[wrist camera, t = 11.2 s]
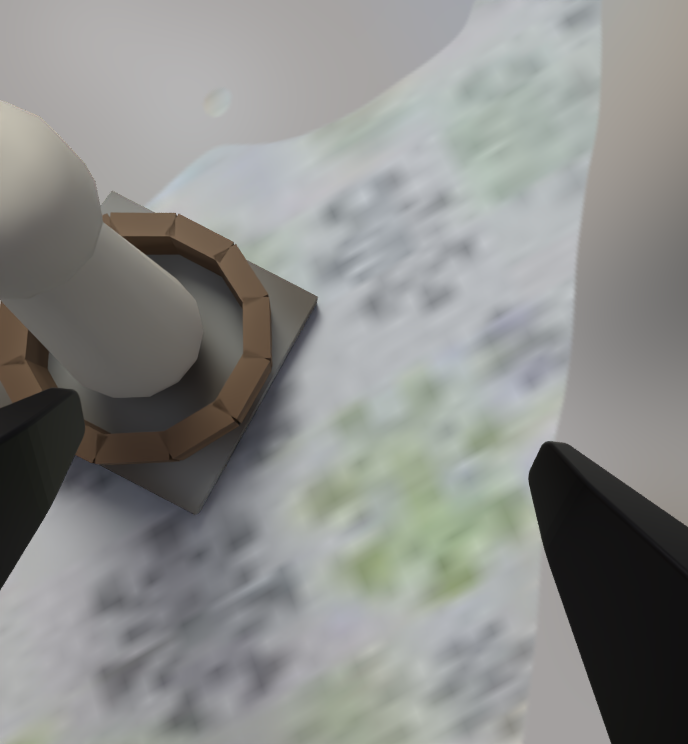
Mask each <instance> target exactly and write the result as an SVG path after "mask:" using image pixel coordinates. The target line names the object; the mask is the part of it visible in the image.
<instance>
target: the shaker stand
mask: <svg viewBox="0 0 688 744" xmlns="http://www.w3.org/2000/svg"><path fill="white" fill-rule="evenodd" d="M100 207H101V212H102V218H103V222H104V223H105V224H106V225H108V226H109V227H110V228H111V229H113V230H114V231H115V232H117V233H118V234H119V235H120V236H122V237H123V238H124V239H126V240H127V241H128V242H129V243H131V244H132V245H133V246H135V247H136V248H137V249H139V250H140V251H141V252H142V253H144V254H145V255H146V256H148V257H149V258H150V259H151V260H153V261H154V262H155V263H157V264H158V265H159V266H160V267H162V268H163V269H164V270H166V271H167V272H168V273H169V274H171V275H172V276H173V277H175V278H176V279H177V280H178V281H179V282H180V283H181V284H182V285H183V287H184V288H185V289H186V290H187V291H188V292H189V293H190V294H191V295H192V297H193V298H194V299H195V300H196V302H197V306H198V310H199V314H200V318H201V322H202V326H203V331H204V333H203V337H202V341H201V345H200V350H199V354H198V358H197V360H196V361H195V363H194V364H193V365H192V366H191V367H190V369H189V370H188V371H187V372H186V374H185V375H184V376H183V377H182V378H181V380H180V381H179V382H178V383H176V384H174V385H172V386H170V387H168V388H166V389H164V390H162V391H160V392H158V393H156V394H154V395H152V396H151V397H130V398H112V397H110V396H107V395H104V394H102V393H99V392H97V391H94V390H91V389H89V388H86V387H84V386H82V385H81V384H80V383H79V382H78V381H77V380H76V379H75V378H74V377H73V376H72V375H71V374H70V373H69V371H68V370H67V369H66V368H65V367H64V366H63V365H62V364H61V363H60V362H59V361H58V360H57V359H56V358H55V357H54V356H53V355H52V354H51V353H50V352H49V351H48V350H47V348H46V347H45V346H44V345H43V344H42V343H41V342H40V341H39V340H38V339H37V338H36V337H35V336H34V335H33V334H32V333H31V332H30V331H29V330H28V329H27V328H26V327H25V326H24V324H23V323H22V322H21V321H20V320H19V319H18V318H17V317H16V316H15V315H14V314H13V313H12V312H11V311H10V310H9V309H8V308H7V307H6V306H5V305H4V304H3V303H2V301H1V304H0V408H2V407H4V406H7V405H9V404H12V403H14V402H17V401H19V400H22V399H24V398H26V397H29V396H31V395H34V394H36V393H39V392H41V391H44V390H46V389H49V388H53V387H56V388H65V389H73V390H75V391H77V393H78V394H79V397H80V401H81V406H82V412H83V417H84V422H85V433H84V436H83V439H82V441H81V443H80V445H79V448H78V450H77V452H76V454H75V455H77V456H79V457H80V458H82V459H84V460H86V461H88V462H90V463H95V464H99V465H101V466H103V467H104V468H106V469H108V470H110V471H112V472H114V473H116V474H118V475H120V476H122V477H124V478H126V479H127V480H129V481H131V482H133V483H135V484H137V485H139V486H141V487H143V488H145V489H147V490H149V491H151V492H152V493H154V494H156V495H158V496H160V497H162V498H164V499H166V500H168V501H170V502H172V503H174V504H175V505H177V506H179V507H181V508H183V509H185V510H187V511H189V512H191V513H193V514H195V515H196V514H198V513H199V512H200V510H201V508H202V507H203V505H204V503H205V501H206V499H207V498H208V496H209V494H210V492H211V491H212V489H213V487H214V485H215V483H216V482H217V480H218V478H219V476H220V474H221V473H222V471H223V469H224V467H225V466H226V464H227V462H228V460H229V458H230V457H231V455H232V453H233V451H234V450H235V448H236V446H237V444H238V442H239V441H240V439H241V437H242V435H243V434H244V432H245V430H246V428H247V426H248V425H249V423H250V421H251V419H252V417H253V416H254V414H255V412H256V410H257V409H258V407H259V405H260V403H261V401H262V400H263V398H264V396H265V394H266V393H267V391H268V389H269V387H270V385H271V384H272V382H273V380H274V378H275V376H276V375H277V373H278V371H279V369H280V368H281V366H282V364H283V362H284V360H285V359H286V357H287V355H288V353H289V352H290V350H291V348H292V346H293V344H294V343H295V341H296V339H297V337H298V336H299V334H300V332H301V330H302V328H303V327H304V325H305V323H306V321H307V319H308V318H309V316H310V314H311V312H312V311H313V309H314V307H315V305H316V303H317V299H318V297H317V296H315V295H313V294H311V293H310V292H308V291H306V290H304V289H302V288H300V287H298V286H296V285H294V284H292V283H290V282H288V281H286V280H284V279H282V278H280V277H279V276H277V275H275V274H273V273H271V272H269V271H267V270H265V269H263V268H261V267H259V266H257V265H255V264H253V263H251V262H249V261H247V260H246V259H245V257H244V256H243V254H242V253H241V251H240V250H239V248H238V247H237V245H236V244H235V245H234V242H232V241H231V240H229V239H227V238H225V237H223V236H221V235H219V234H217V233H215V232H213V231H211V230H209V229H207V228H205V227H203V226H201V225H200V224H198V223H196V222H194V221H192V220H190V219H188V218H186V217H184V216H182V215H180V214H178V216H177V215H176V213H154V212H153V211H151V210H149V209H147V208H145V207H143V206H141V205H139V204H137V203H135V202H133V201H131V200H129V199H127V198H125V197H123V196H122V195H120V194H118V193H115V192H113V191H111V193H110V194H109V195H108V197H107V198H106V199H105V201H104V202H103V203H102V205H101V206H100Z"/></svg>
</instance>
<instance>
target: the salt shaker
mask: <svg viewBox="0 0 688 744" xmlns="http://www.w3.org/2000/svg"><path fill="white" fill-rule="evenodd" d="M0 300H1V301H2V303H3V304H4V305H5V306H6V307H7V308H8V309H9V310H10V311H11V312H12V313H13V314H14V315H15V316H16V317H17V318H18V319H19V320H20V321H21V322H22V323H23V324H24V326H25V327H26V328H27V329H28V330H29V331H30V332H31V333H32V334H33V335H34V336H35V337H36V338H37V339H38V340H39V341H40V342H41V343H42V344H43V345H44V346H45V347H46V348H47V350H48V351H49V352H50V353H51V354H52V355H53V356H54V357H55V358H56V359H57V360H58V361H59V362H60V363H61V364H62V365H63V366H64V367H65V368H66V369H67V370H68V371H69V373H70V374H71V375H72V376H73V377H74V378H75V379H76V380H77V381H78V382H79V383H80V384H81V385H82V386H84V387H86V388H89V389H91V390H94V391H97V392H99V393H102V394H104V395H107V396H110V397H112V398H130V397H151V396H152V395H154V394H156V393H158V392H160V391H162V390H164V389H166V388H168V387H170V386H172V385H174V384H176V383H178V382H179V381H180V380H181V378H182V377H183V376H184V375H185V374H186V372H187V371H188V370H189V369H190V367H191V366H192V365H193V364H194V363H195V361H196V360H197V358H198V354H199V350H200V345H201V341H202V337H203V333H204V331H203V326H202V322H201V318H200V314H199V310H198V306H197V302H196V300H195V299H194V298H193V297H192V295H191V294H190V293H189V292H188V291H187V290H186V289H185V288H184V287H183V285H182V284H181V283H180V282H179V281H178V280H177V279H176V278H175V277H173V276H172V275H171V274H169V273H168V272H167V271H166V270H164V269H163V268H162V267H160V266H159V265H158V264H157V263H155V262H154V261H153V260H151V259H150V258H149V257H148V256H146V255H145V254H144V253H142V252H141V251H140V250H139V249H137V248H136V247H135V246H133V245H132V244H131V243H129V242H128V241H127V240H126V239H124V238H123V237H122V236H120V235H119V234H118V233H117V232H115V231H114V230H113V229H111V228H110V227H109V226H108V225H106V224H105V223H104V222H103V218H102V212H101V207H100V202H99V197H98V193H97V187H96V183H95V180H94V178H93V177H92V175H91V173H90V171H89V170H88V168H87V166H86V165H85V163H84V162H83V161H82V160H81V159H80V158H79V157H78V155H77V154H76V153H75V152H74V151H73V150H72V149H71V148H70V147H69V146H68V145H67V144H66V142H64V140H63V139H62V138H61V137H60V136H59V135H58V134H57V133H56V132H55V131H54V130H53V129H52V128H51V127H50V126H49V125H48V124H47V123H46V122H45V121H44V120H43V119H42V118H41V117H39V116H37V115H34V114H32V113H30V112H28V111H25V110H23V109H21V108H18V107H16V106H14V105H11V104H9V103H7V102H4V101H2V100H0Z"/></svg>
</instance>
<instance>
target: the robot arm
mask: <svg viewBox="0 0 688 744" xmlns="http://www.w3.org/2000/svg"><path fill="white" fill-rule="evenodd" d="M84 433H85V422H84V417H83V412H82V406H81V401H80V397H79V394H78V393H77V391H75V390H73V389H65V388H56V387H53V388H49V389H46V390H44V391H41V392H39V393H36V394H34V395H31V396H29V397H26V398H24V399H22V400H19V401H17V402H14V403H12V404H9V405H7V406H4V407H2V408H0V590H1V588H2V587H3V585H4V583H5V582H6V580H7V578H8V577H9V575H10V574H11V572H12V570H13V569H14V567H15V565H16V564H17V562H18V560H19V559H20V557H21V555H22V554H23V552H24V551H25V549H26V547H27V546H28V544H29V542H30V541H31V539H32V537H33V536H34V534H35V533H36V531H37V529H38V528H39V526H40V524H41V523H42V521H43V519H44V518H45V516H46V514H47V512H48V511H49V509H50V507H51V505H52V503H53V501H54V499H55V497H56V495H57V493H58V491H59V489H60V486H61V484H62V482H63V480H64V478H65V476H66V473H67V471H68V469H69V467H70V465H71V463H72V461H73V458H74V456H75V454H76V452H77V450H78V448H79V445H80V443H81V441H82V439H83V436H84ZM528 480H529V486H530V491H531V495H532V499H533V504H534V508H535V512H536V517H537V521H538V525H539V530H540V534H541V538H542V542H543V546H544V550H545V553H546V556H547V559H548V562H549V566H550V569H551V571H552V574H553V577H554V580H555V583H556V586H557V589H558V592H559V594H560V597H561V600H562V603H563V606H564V609H565V612H566V615H567V617H568V620H569V623H570V626H571V629H572V632H573V635H574V638H575V641H576V643H577V646H578V649H579V652H580V655H581V658H582V661H583V664H584V667H585V669H586V672H587V675H588V678H589V681H590V684H591V687H592V690H593V693H594V695H595V698H596V701H597V704H598V707H599V710H600V712H601V716H602V718H603V721H604V724H605V727H606V730H607V733H608V736H609V739H610V742H611V744H688V527H687V526H686V525H684V524H683V523H681V522H680V521H678V520H677V519H675V518H674V517H673V516H671V515H670V514H668V513H667V512H665V511H664V510H662V509H661V508H660V507H658V506H657V505H655V504H654V503H652V502H651V501H649V500H648V499H647V498H645V497H644V496H642V495H641V494H639V493H638V492H636V491H635V490H634V489H632V488H631V487H629V486H628V485H626V484H625V483H623V482H622V481H621V480H619V479H618V478H616V477H615V476H613V475H612V474H610V473H609V472H607V471H606V470H605V469H603V468H602V467H600V466H599V465H598V464H596V463H595V462H593V461H592V460H590V459H589V458H587V457H586V456H585V455H583V454H582V453H580V452H579V451H577V450H576V449H574V448H573V447H572V446H570V445H568V444H566V443H562V442H553V441H547V442H545V443H544V444H542V446H541V448H540V450H539V452H538V454H537V456H536V458H535V460H534V462H533V465H532V467H531V469H530V471H529V477H528Z"/></svg>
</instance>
